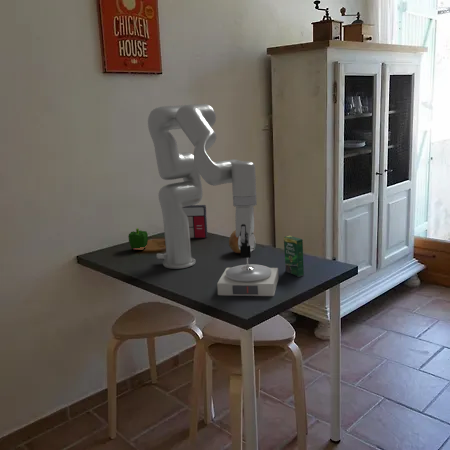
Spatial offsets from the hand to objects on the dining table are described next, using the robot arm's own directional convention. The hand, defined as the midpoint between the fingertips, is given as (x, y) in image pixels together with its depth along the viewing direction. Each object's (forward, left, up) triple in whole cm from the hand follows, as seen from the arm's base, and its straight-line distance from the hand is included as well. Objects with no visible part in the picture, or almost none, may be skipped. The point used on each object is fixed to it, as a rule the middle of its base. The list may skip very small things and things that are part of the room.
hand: (247, 254), depth 169 cm
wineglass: (0, 0, -5) cm, 5 cm away
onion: (-9, +39, -12) cm, 41 cm away
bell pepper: (-55, +44, -12) cm, 71 cm away
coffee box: (+14, +14, -12) cm, 23 cm away
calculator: (-34, +64, -12) cm, 73 cm away
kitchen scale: (0, 0, -11) cm, 11 cm away
